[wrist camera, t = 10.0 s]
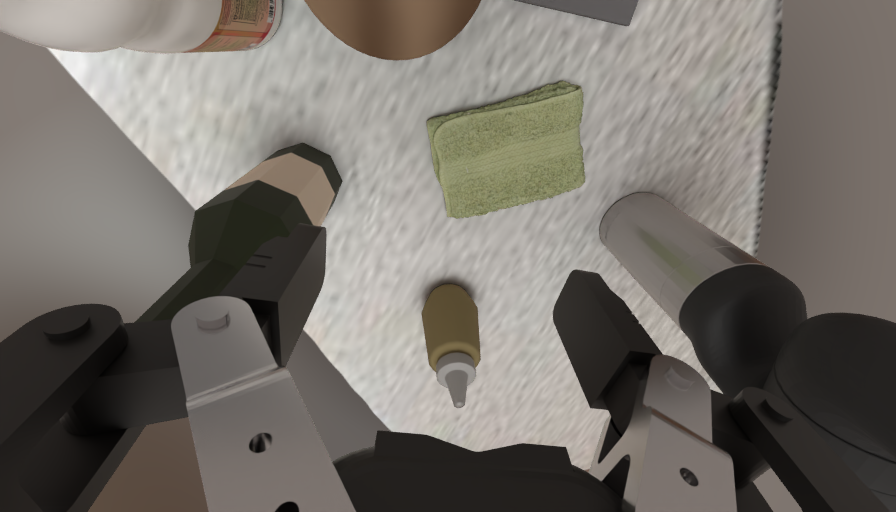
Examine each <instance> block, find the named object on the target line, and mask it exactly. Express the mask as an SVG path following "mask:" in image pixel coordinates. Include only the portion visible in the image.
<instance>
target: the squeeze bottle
mask: <svg viewBox="0 0 896 512" xmlns="http://www.w3.org/2000/svg"><path fill="white" fill-rule="evenodd" d="M422 320H423V326H424V333H425V340H426V346H427V353H428V360H429V365H430V366H431V368H432V369H433V370H434V371H435V372H436V375H437V381H438V382H439V383H440V384H441V385H442V386H444V387H446V388H448V389H449V392H450V395H451V398H452V401H453V404H454V406H455V407H457V408H461V407H463V406H464V405H465V398H466V390H467V386H468V385H469V384H471V383H472V382H473V381H474V379H475V377H476V370H475V368H476V367H477V365H478V363H479V361H480V341H479V325H478V309H477V306H476V305H475V303H474V301H473V300H472V299H471V297H470V296H469V295H468V294H467V293H466V291H465V290H464V289H463V288H461V287H460V286H458V285H453V284H445V285H441V286H439V287H437V288H435V289H434V290H433V291H432V292H431V294H430V296H429V298H428V300H427V302H426V303H425V306H424V308H423V311H422Z"/></svg>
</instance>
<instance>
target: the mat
mask: <svg viewBox="0 0 896 512" xmlns="http://www.w3.org/2000/svg"><path fill="white" fill-rule="evenodd" d="M515 1H519V2H524V3H528V4H532V5H537V6H541V7H545V8H550V9H554V10H559V11H563V12H567V13H572V14H576V15H580V16H585V17H589V18H593V19H598V20H602V21H606V22H611V23H615V24H619V25H624V26H629V25H630V22H631V19H632V16H633V14H634V11H635V8H636V6H637V3H638V0H515Z"/></svg>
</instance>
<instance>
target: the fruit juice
mask: <svg viewBox="0 0 896 512" xmlns="http://www.w3.org/2000/svg"><path fill="white" fill-rule="evenodd" d="M281 14H282V0H0V31H2V32H4V33H6V34H9V35H11V36H13V37H16V38H18V39H21V40H24V41H26V42H29V43H33V44H36V45H39V46H43V47H47V48H52V49H57V50H63V51H73V52H103V51H108V50H113V49H117V48H119V47H121V48H125V49H129V50H134V51H140V52H149V53H165V54H169V53H186V52H221V51H247V50H252V49H255V48H257V47H260V46H262V45H263V44H265V43H266V42H268V41H269V40H270V39H271V38H272V36H273V35H274V34H275V32H276V30H277V28H278V26H279V23H280V20H281Z"/></svg>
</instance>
